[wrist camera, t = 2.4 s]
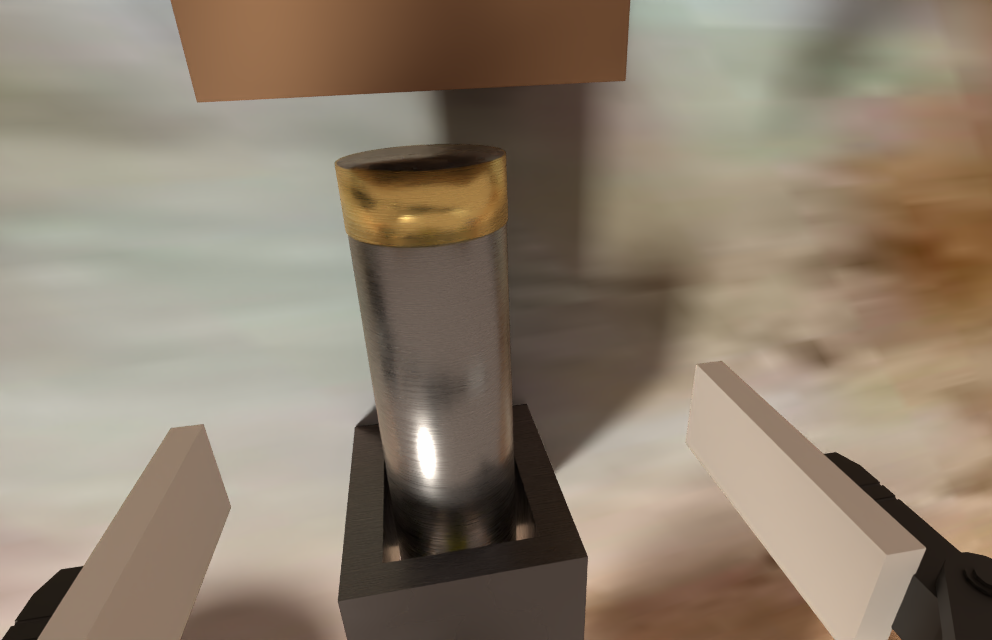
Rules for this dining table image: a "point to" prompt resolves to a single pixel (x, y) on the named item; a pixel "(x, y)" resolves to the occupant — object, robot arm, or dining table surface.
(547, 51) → the socket
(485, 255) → the tube
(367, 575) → the sleeve
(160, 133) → the dining table surface
